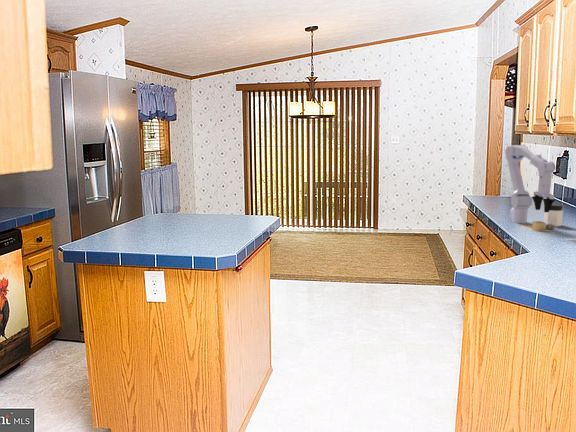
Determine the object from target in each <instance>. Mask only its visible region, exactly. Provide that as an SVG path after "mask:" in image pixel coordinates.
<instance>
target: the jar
mask: <svg viewBox="0 0 576 432" xmlns="http://www.w3.org/2000/svg"><path fill="white" fill-rule="evenodd" d="M563 207H564V206H563V204H558V203H553V204H552V206H551V208H550V210H549V212H544V215H543V222H545V223H546V225H547V224H549V223H551V224H553V225H555V227H561V226H563V225H562V224H563V217H564V210H563Z"/></svg>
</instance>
